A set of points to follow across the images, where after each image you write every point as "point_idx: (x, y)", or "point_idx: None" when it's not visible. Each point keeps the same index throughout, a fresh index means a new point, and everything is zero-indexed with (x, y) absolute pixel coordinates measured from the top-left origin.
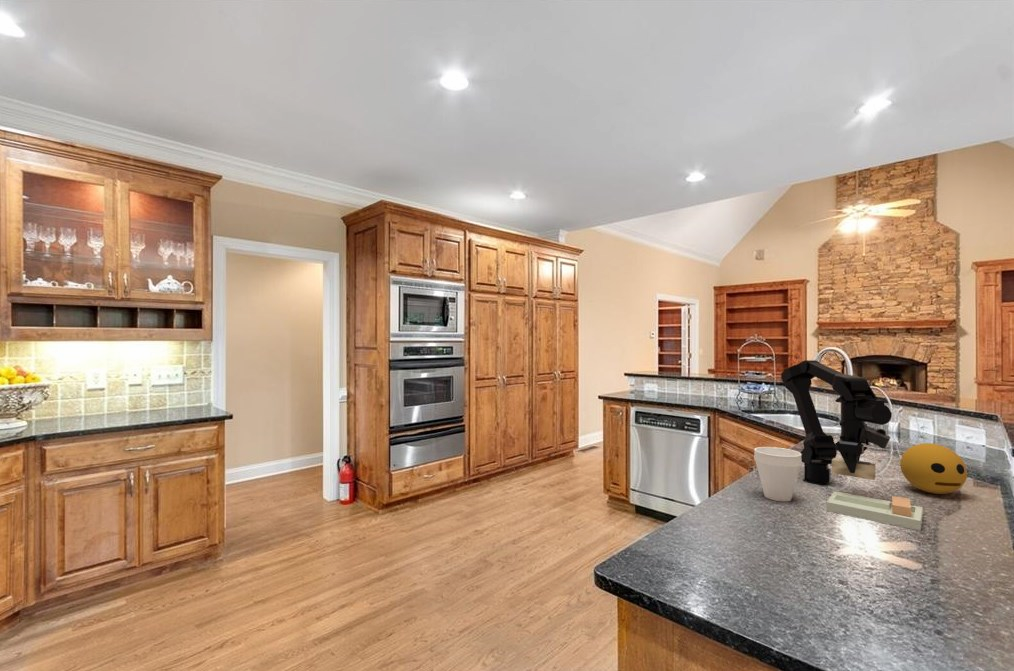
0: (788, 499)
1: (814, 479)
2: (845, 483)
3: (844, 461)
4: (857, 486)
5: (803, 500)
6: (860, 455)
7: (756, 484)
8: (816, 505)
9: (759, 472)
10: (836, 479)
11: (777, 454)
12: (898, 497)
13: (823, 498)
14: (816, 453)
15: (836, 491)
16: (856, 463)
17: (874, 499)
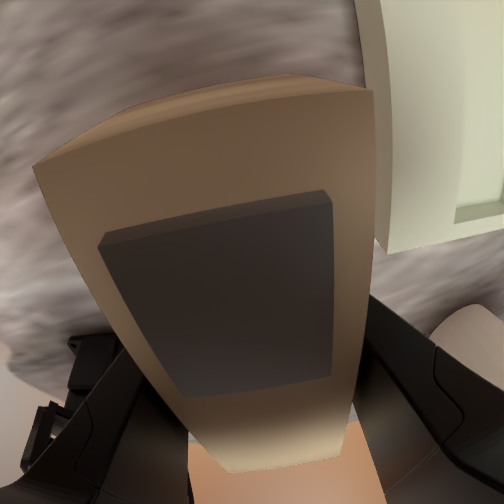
0: (482, 307)
1: None
2: (25, 295)
3: (326, 426)
4: (13, 252)
5: (452, 287)
6: (51, 449)
7: (351, 407)
8: (485, 242)
9: None
10: (17, 328)
11: None
12: None
13: (385, 262)
14: (188, 499)
15: (387, 248)
16: (432, 341)
17: (411, 51)
